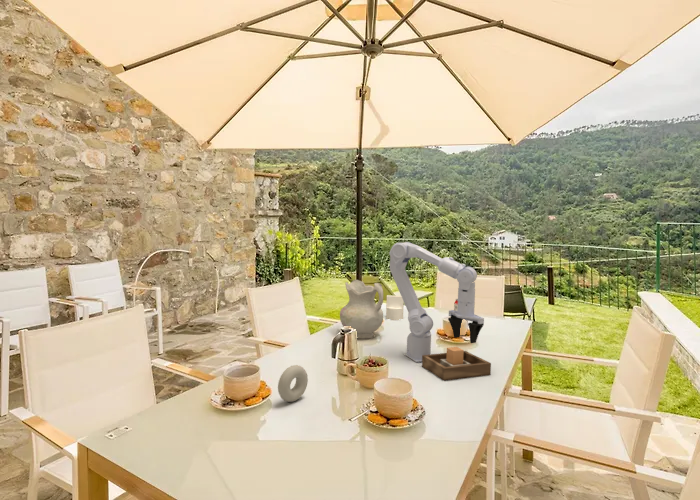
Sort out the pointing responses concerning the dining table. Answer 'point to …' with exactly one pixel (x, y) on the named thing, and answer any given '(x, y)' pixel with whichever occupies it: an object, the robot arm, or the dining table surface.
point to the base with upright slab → (394, 307)
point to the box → (456, 366)
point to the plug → (455, 355)
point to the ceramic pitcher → (363, 309)
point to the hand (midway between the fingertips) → (464, 339)
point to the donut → (286, 381)
